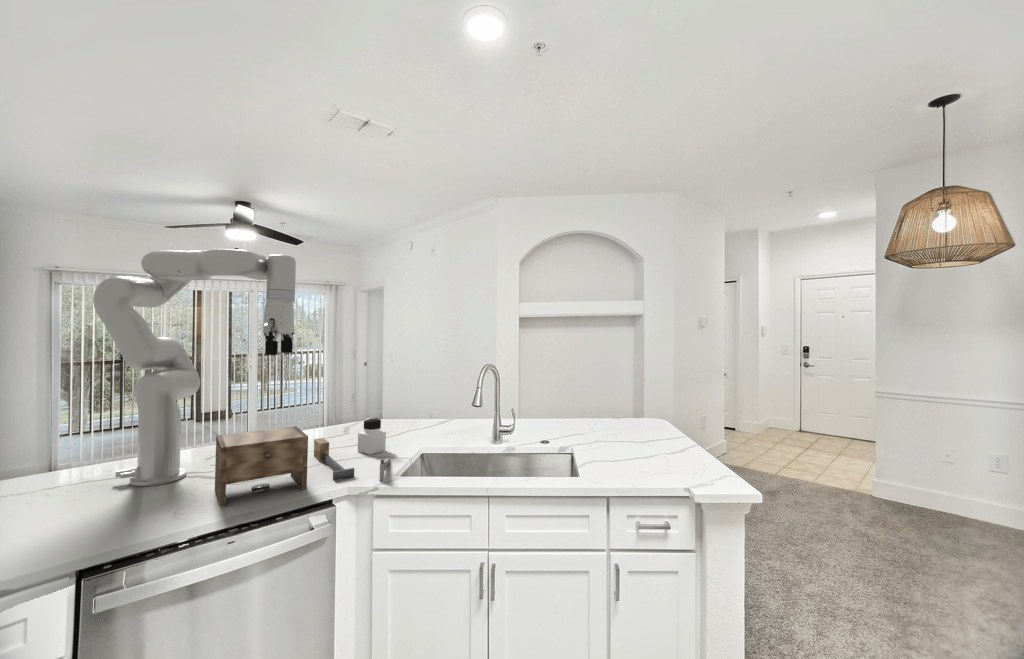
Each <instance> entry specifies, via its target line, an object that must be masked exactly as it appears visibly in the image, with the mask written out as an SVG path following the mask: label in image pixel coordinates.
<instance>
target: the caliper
mask: <svg viewBox="0 0 1024 659" xmlns="http://www.w3.org/2000/svg"><path fill="white" fill-rule="evenodd" d="M390 460H391V459H390V457H386V458H385V459H380V463H379V482H383V481H384V479H385V471H386V467H387V466H388V465H389V463H390Z"/></svg>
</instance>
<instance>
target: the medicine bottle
mask: <svg viewBox="0 0 1024 659" xmlns="http://www.w3.org/2000/svg"><path fill="white" fill-rule="evenodd" d="M381 426H382V421H381V419H380V418H378V417H369V418H366V419H364V420H363V430H362V431H360V432H358V433H357V452H358V453H360V454H364V455H369V456H371V455H375V453H376V454H377V453H378V454H379V453H383V452H385V451H386V446H387V445H386V442H387V441H386V438H387V432H386V431H384V430H382V427H381Z"/></svg>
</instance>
